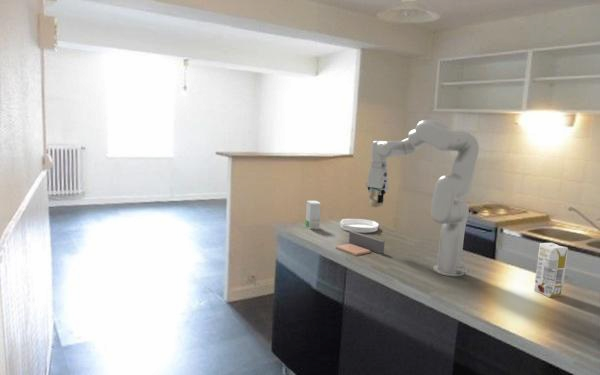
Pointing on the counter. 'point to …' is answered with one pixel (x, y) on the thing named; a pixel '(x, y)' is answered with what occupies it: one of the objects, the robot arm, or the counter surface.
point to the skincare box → (313, 214)
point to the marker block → (374, 198)
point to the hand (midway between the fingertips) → (376, 201)
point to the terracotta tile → (353, 249)
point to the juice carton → (550, 269)
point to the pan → (359, 225)
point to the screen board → (366, 242)
